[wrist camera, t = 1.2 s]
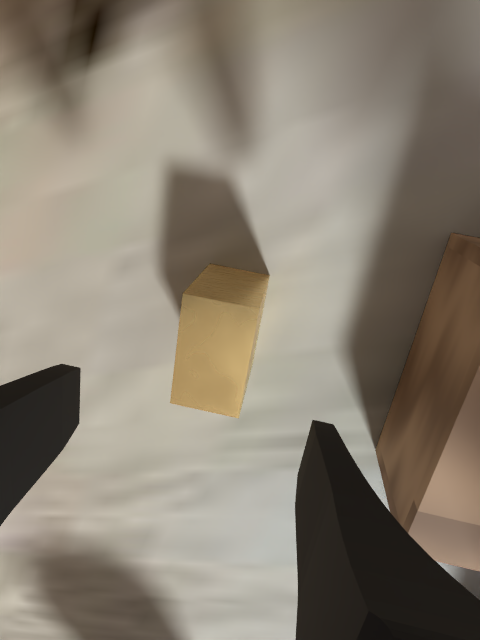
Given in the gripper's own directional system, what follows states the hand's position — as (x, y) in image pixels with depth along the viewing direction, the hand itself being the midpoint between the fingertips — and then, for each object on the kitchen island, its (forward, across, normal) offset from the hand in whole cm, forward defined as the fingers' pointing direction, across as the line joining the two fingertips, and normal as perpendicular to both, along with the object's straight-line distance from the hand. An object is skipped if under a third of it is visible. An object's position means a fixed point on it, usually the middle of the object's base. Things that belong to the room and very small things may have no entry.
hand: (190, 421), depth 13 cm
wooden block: (+10, 0, 0) cm, 10 cm away
